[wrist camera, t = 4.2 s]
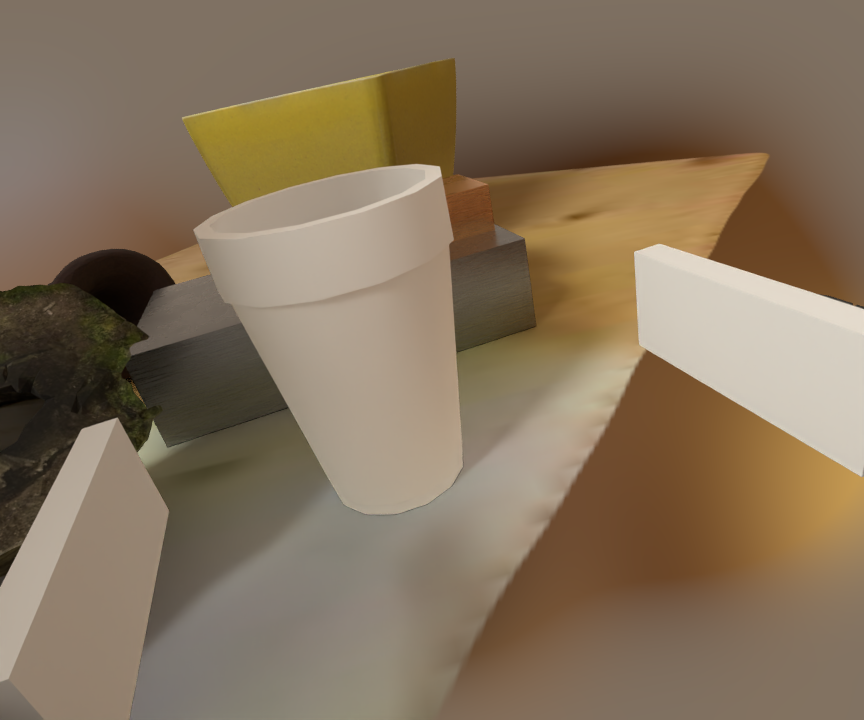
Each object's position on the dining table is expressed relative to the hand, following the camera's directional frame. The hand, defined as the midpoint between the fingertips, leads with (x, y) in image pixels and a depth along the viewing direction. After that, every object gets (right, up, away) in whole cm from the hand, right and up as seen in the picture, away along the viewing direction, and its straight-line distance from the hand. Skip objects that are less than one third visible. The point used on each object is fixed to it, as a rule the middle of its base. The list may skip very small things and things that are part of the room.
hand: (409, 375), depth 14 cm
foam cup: (-1, -5, +13) cm, 14 cm away
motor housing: (-6, +2, +27) cm, 28 cm away
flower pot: (-5, +11, +45) cm, 46 cm away
